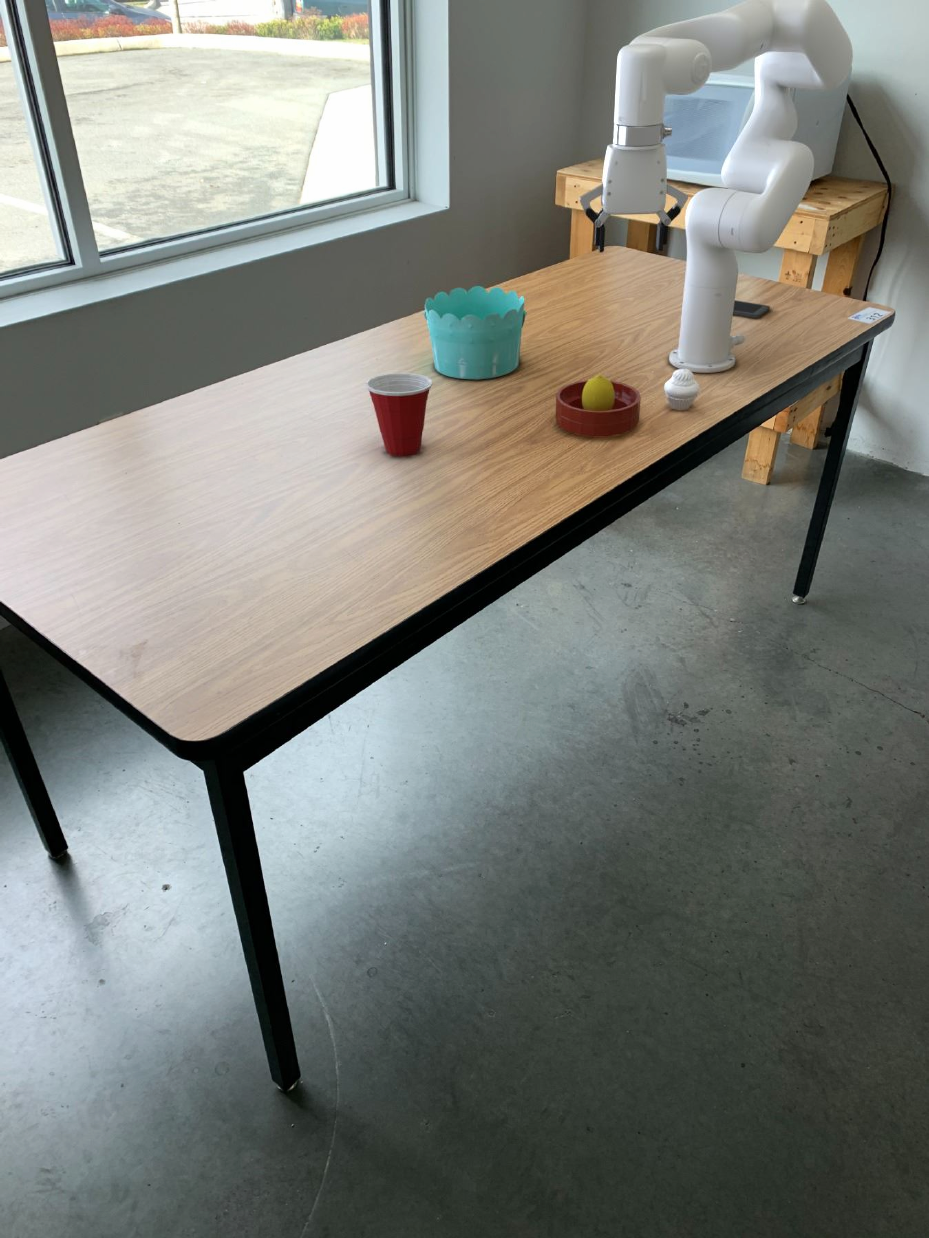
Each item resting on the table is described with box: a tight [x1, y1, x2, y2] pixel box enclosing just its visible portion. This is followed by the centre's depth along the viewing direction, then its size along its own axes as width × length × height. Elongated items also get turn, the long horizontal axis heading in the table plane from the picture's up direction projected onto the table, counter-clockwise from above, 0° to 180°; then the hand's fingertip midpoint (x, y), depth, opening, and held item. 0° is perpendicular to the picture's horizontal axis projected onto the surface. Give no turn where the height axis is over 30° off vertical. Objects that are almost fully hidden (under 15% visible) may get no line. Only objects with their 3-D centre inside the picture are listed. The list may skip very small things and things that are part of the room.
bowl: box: [555, 379, 642, 438], centre depth 167 cm, size 14×14×5 cm
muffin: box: [663, 368, 700, 411], centre depth 171 cm, size 6×6×7 cm
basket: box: [423, 285, 527, 381], centre depth 189 cm, size 19×18×13 cm
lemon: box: [582, 374, 615, 411], centre depth 165 cm, size 6×6×8 cm
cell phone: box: [733, 299, 771, 319], centre depth 215 cm, size 7×14×1 cm, turn 55°
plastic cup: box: [364, 372, 434, 458], centre depth 158 cm, size 11×11×12 cm
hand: (630, 249), depth 161 cm, fingers open, 9 cm apart
